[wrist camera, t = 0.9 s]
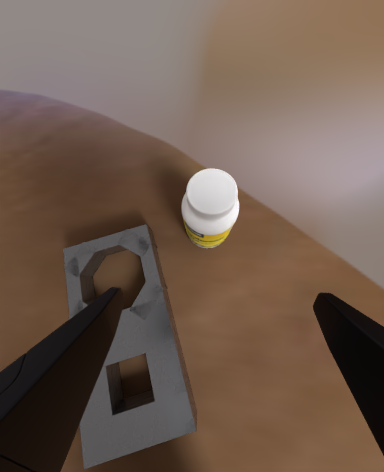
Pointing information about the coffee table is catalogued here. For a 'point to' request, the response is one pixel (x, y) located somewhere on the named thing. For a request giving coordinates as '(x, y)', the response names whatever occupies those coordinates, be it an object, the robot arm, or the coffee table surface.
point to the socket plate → (130, 345)
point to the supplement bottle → (210, 207)
